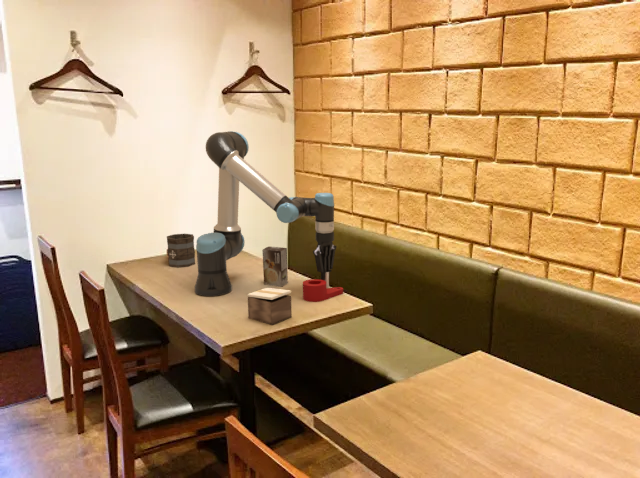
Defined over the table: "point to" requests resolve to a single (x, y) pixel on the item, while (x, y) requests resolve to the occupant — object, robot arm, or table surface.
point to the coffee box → (275, 266)
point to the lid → (269, 293)
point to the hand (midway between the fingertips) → (325, 287)
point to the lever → (319, 290)
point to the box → (270, 309)
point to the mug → (181, 250)
